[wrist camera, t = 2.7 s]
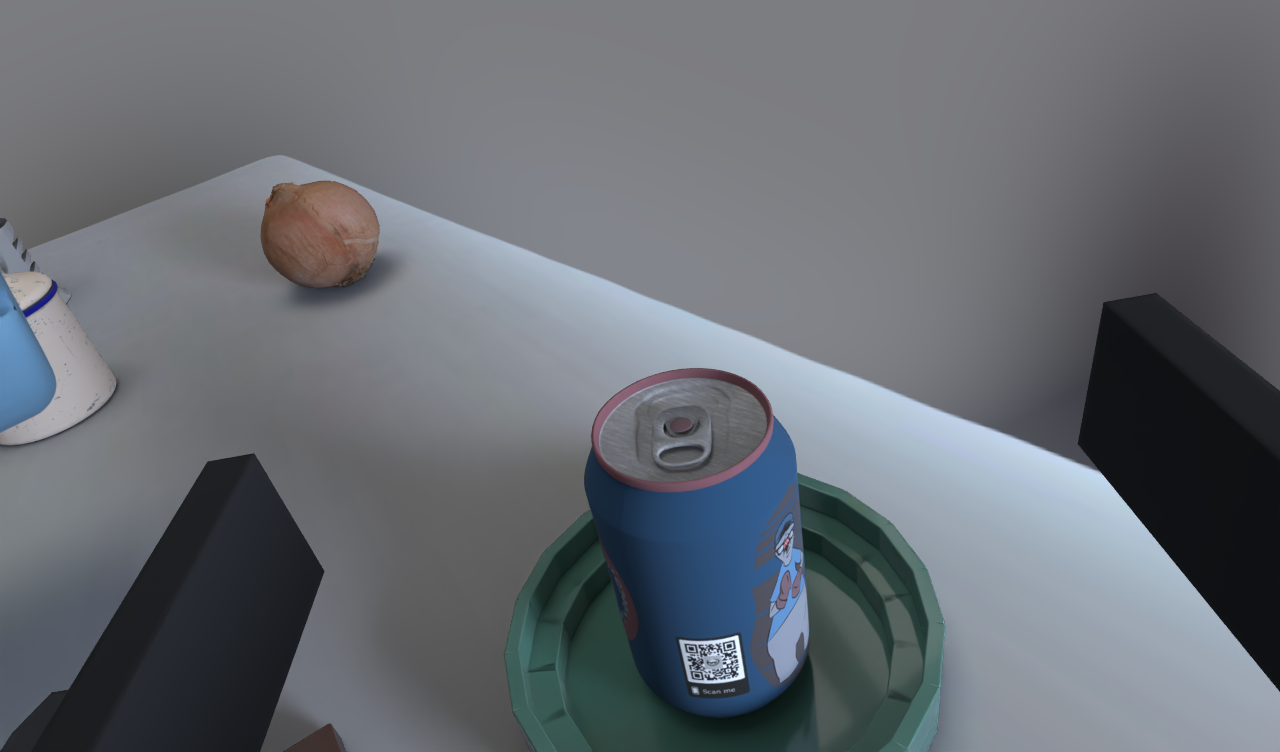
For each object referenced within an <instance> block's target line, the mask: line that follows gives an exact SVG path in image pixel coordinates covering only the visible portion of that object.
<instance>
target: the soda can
mask: <svg viewBox="0 0 1280 752" xmlns="http://www.w3.org/2000/svg"><path fill="white" fill-rule="evenodd" d="M591 440H592V448H591V451H590V454H589V457H588V461H587V464H586V469H585V476H584V485H585V491H586V495H587V499H588V502H589V506H590V509H591V512H592V516H593V519H594V523H595V526H596V530H597V533H598V537H599V540H600V544H601V547H602V551H603V554H604V558H605V561H606V565H607V568H608V572H609V575H610V579H611V582H612V586H613V589H614V593H615V596H616V600H617V603H618V607H619V610H620V614H621V617H622V621H623V624H624V628H625V631H626V635H627V638H628V642H629V645H630V649H631V652H632V656H633V659H634V662H635V665H636V668H637V670H638V672H639V674H640V675H641V677H642V679H643V680H644V682H645V683H646V684H647V685H648V687H649V688H650V689H651V690H652V691H653V692H654V693H655V694H656V695H658V696H659V697H660V698H661V699H663V700H664V701H665V702H667V703H669V704H670V705H672V706H674V707H676V708H678V709H680V710H683V711H685V712H688V713H691V714H695V715H699V716H704V717H711V718H733V717H738V716H743V715H746V714H749V713H751V712H754V711H756V710H758V709H760V708H762V707H764V706H765V705H767V704H769V703H770V702H772V701H773V700H775V699H776V698H777V697H779V696H780V695H781V694H782V693H783V692H784V691H785V690H786V689H787V688H788V687H789V686H790V685H791V684H792V683H793V681H794V680H795V679H796V677H797V676H798V674H799V673H800V671H801V669H802V667H803V665H804V663H805V660H806V658H807V654H808V650H809V645H810V625H809V613H808V600H807V588H806V576H805V563H804V551H803V539H802V526H801V514H800V502H799V489H798V477H797V465H796V454H795V449H794V446H793V443H792V440H791V438H790V436H789V435H788V433H787V431H786V430H785V429H784V427H783V426H782V425H781V423H780V422H779V421H778V420H777V419H776V417H775V416H774V415H773V412H772V408H771V405H770V403H769V400H768V399H767V397H766V396H765V394H764V393H763V392H762V391H761V390H760V389H759V388H758V387H757V386H756V385H754V384H753V383H752V382H750V381H748V380H747V379H745V378H743V377H740V376H738V375H735V374H732V373H729V372H725V371H721V370H715V369H705V368H689V369H678V370H672V371H667V372H662V373H659V374H655V375H652V376H649V377H646V378H644V379H642V380H639V381H637V382H635V383H633V384H631V385H629V386H628V387H626V388H624V389H623V390H621V391H620V392H618V393H617V394H616V395H614V396H613V397H612V398H611V399H610V400H609V401H608V402H607V403H606V404H605V405H604V406H603V407H602V408H601V410H600V411H599V412H598V414H597V416H596V418H595V421H594V424H593V427H592V434H591Z"/></svg>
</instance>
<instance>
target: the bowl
mask: <svg viewBox="0 0 1280 752" xmlns="http://www.w3.org/2000/svg"><path fill="white" fill-rule="evenodd" d="M797 477H798V489H799V502H800V514H801V526H802V539H803V551H804V563H805V576H806V588H807V600H808V613H809V625H810V645H809V650H808V654H807V658H806V660H805V663H804V665H803V667H802V669H801V671H800V673H799V674H798V676H797V677H796V679H795V680H794V681H793V683H792V684H791V685H790V686H789V687H788V688H787V689H786V690H785V691H784V692H783V693H782V694H781V695H780V696H779V697H777V698H776V699H775V700H773V701H772V702H770V703H769V704H767V705H765V706H764V707H762V708H760V709H758V710H756V711H754V712H751V713H749V714H746V715H743V716H738V717H733V718H711V717H704V716H699V715H695V714H691V713H688V712H685V711H683V710H680V709H678V708H676V707H674V706H672V705H670V704H669V703H667V702H665V701H664V700H663V699H661V698H660V697H659V696H658V695H656V694H655V693H654V692H653V691H652V690H651V689H650V688H649V687H648V685H647V684H646V683H645V682H644V680H643V679H642V677H641V675H640V674H639V672H638V670H637V668H636V665H635V662H634V659H633V656H632V652H631V649H630V645H629V642H628V638H627V635H626V631H625V628H624V624H623V621H622V617H621V614H620V610H619V607H618V603H617V600H616V596H615V593H614V589H613V586H612V582H611V579H610V575H609V572H608V568H607V565H606V561H605V558H604V554H603V551H602V547H601V544H600V540H599V537H598V533H597V530H596V526H595V523H594V519H593V516H592V512H591V510H589V511H587V512H585V513H584V514H583V515H581V516H580V517H579V518H578V519H577V520H576V521H575V522H574V523H573V524H572V525H571V526H570V527H569V528H568V529H567V530H566V531H565V532H564V533H563V534H562V535H561V536H560V537H559V538H558V539H557V540H556V541H555V542H554V543H552V544H551V545H550V546H549V547H548V548H547V549H546V550H545V551H544V553H543V554H542V556H541V557H540V559H539V561H538V562H537V564H536V566H535V568H534V569H533V571H532V573H531V574H530V576H529V578H528V580H527V581H526V583H525V585H524V586H523V588H522V590H521V592H520V593H519V595H518V597H517V599H516V602H515V607H514V611H513V616H512V621H511V625H510V630H509V635H508V639H507V644H506V649H505V654H504V657H505V664H506V671H507V677H508V684H509V691H510V698H511V704H512V711H513V714H514V716H515V718H516V721H517V723H518V725H519V727H520V729H521V731H522V733H523V736H524V738H525V740H526V742H527V744H528V747H529V749H530V751H531V752H927V751H928V749H929V747H930V745H931V743H932V741H933V739H934V737H935V735H936V732H937V728H938V715H939V702H940V689H941V676H942V663H943V651H944V638H945V622H944V619H943V616H942V613H941V610H940V606H939V603H938V600H937V597H936V594H935V591H934V588H933V585H932V582H931V579H930V575H929V572H928V570H927V568H926V566H925V565H924V563H923V562H922V561H921V560H920V558H919V557H918V556H917V555H916V553H915V552H914V551H913V549H912V548H911V547H910V546H909V544H908V543H907V542H906V540H905V539H904V538H903V537H902V535H901V534H900V533H899V531H898V530H897V529H896V528H895V526H894V525H893V524H892V523H891V522H890V521H889V520H887V519H886V518H884V517H883V516H881V515H880V514H879V513H877V512H876V511H874V510H873V509H871V508H870V507H869V506H867V505H866V504H864V503H863V502H861V501H860V500H858V499H857V498H856V497H854V496H853V495H851V494H850V493H848V492H847V491H845V490H843V489H840V488H838V487H835V486H832V485H829V484H827V483H824V482H821V481H818V480H816V479H813V478H810V477H807V476H805V475H802V474H799V473H797Z"/></svg>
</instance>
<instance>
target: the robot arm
mask: <svg viewBox="0 0 1280 752" xmlns="http://www.w3.org/2000/svg"><path fill="white" fill-rule="evenodd" d="M55 391H56V377H55V374H54V372H53V369H52V367H51V365H50V363H49V361H48V359H47V357H46V355H45V353H44V351H43V349H42V347H41V345H40V343H39V341H38V340H37V338H36V336H35V334H34V332H33V330H32V328H31V326H30V325H29V323H28V321H27V319H26V317H25V315H24V313H23V312H22V310H21V308H20V306H19V304H18V302H17V301H16V299H15V297H14V295H13V293H12V291H11V290H10V288H9V286H8V284H7V282H6V280H5V279H4V277H3V275H2V273H1V271H0V433H1V432H3V431H5V430H7V429H9V428H11V427H13V426H15V425H18V424H20V423H22V422H24V421H26V420H28V419H30V418H32V417H34V416H36V415H37V414H39V413H41V412H42V411H43V410H44V409H45V408H46V407H47V406H48V405H49V404H50V402H51V401H52V399H53V397H54V395H55ZM1078 445H1079V446H1080V447H1081V448H1082V450H1083V451H1084V452H1085V453H1086V455H1087V456H1088V457H1089V458H1090V459H1091V461H1092V462H1093V463H1094V464H1095V466H1096V467H1097V468H1098V469H1099V471H1100V472H1101V473H1102V474H1103V475H1104V477H1105V478H1106V479H1107V480H1108V482H1109V483H1110V484H1111V485H1112V486H1113V488H1114V489H1115V490H1116V491H1117V493H1118V494H1119V495H1120V496H1121V498H1122V499H1123V500H1124V501H1125V502H1126V504H1127V505H1128V506H1129V507H1130V509H1131V510H1132V511H1133V512H1134V513H1135V515H1136V516H1137V517H1138V518H1139V520H1140V521H1141V522H1142V523H1143V525H1144V526H1145V527H1146V528H1147V529H1148V531H1149V532H1150V533H1151V534H1152V536H1153V537H1154V538H1155V539H1156V540H1157V542H1158V543H1159V544H1160V545H1161V547H1162V548H1163V549H1164V550H1165V552H1166V553H1167V554H1168V555H1169V556H1170V558H1171V559H1172V560H1173V561H1174V563H1175V564H1176V565H1177V566H1178V567H1179V569H1180V570H1181V571H1182V572H1183V574H1184V575H1185V576H1186V577H1187V578H1188V580H1189V581H1190V582H1191V583H1192V585H1193V586H1194V587H1195V588H1196V590H1197V591H1198V592H1199V593H1200V594H1201V596H1202V597H1203V598H1204V599H1205V601H1206V602H1207V603H1208V604H1209V605H1210V607H1211V608H1212V609H1213V610H1214V612H1215V613H1216V614H1217V615H1218V617H1219V618H1220V619H1221V620H1222V621H1223V623H1224V624H1225V625H1226V626H1227V628H1228V629H1229V630H1230V631H1231V632H1232V634H1233V635H1234V636H1235V637H1236V639H1237V640H1238V641H1239V642H1240V643H1241V645H1242V646H1243V647H1244V648H1245V650H1246V651H1247V652H1248V653H1249V655H1250V656H1251V657H1252V658H1253V659H1254V661H1255V662H1256V663H1257V664H1258V666H1259V667H1260V668H1261V669H1262V670H1263V672H1264V673H1265V674H1266V675H1267V677H1268V678H1269V679H1270V680H1271V682H1272V683H1273V684H1274V685H1275V686H1276V688H1277V689H1278V690H1279V691H1280V391H1279V390H1278V389H1276V388H1275V387H1274V386H1273V385H1272V384H1270V383H1269V382H1268V381H1266V380H1265V379H1264V378H1263V377H1261V376H1260V375H1259V374H1258V373H1256V372H1255V371H1254V370H1252V369H1251V368H1250V367H1249V366H1248V365H1246V364H1245V363H1244V362H1242V361H1241V360H1240V359H1239V358H1237V357H1236V356H1235V355H1234V354H1232V353H1231V352H1230V351H1229V350H1227V349H1226V348H1225V347H1224V346H1222V345H1221V344H1220V343H1219V342H1217V341H1216V340H1215V339H1214V338H1212V337H1211V336H1210V335H1209V334H1207V333H1206V332H1205V331H1203V330H1202V329H1201V328H1200V327H1198V326H1197V325H1196V324H1194V323H1193V322H1192V321H1191V320H1190V319H1188V318H1187V317H1186V316H1184V315H1183V314H1182V313H1181V312H1179V311H1178V310H1177V309H1176V308H1175V307H1173V306H1172V305H1171V304H1169V303H1168V302H1167V301H1166V300H1164V299H1163V298H1162V297H1160V296H1159V295H1158V294H1157V293H1153V294H1148V295H1142V296H1137V297H1132V298H1126V299H1120V300H1114V301H1108V302H1104V303H1103V309H1102V314H1101V320H1100V326H1099V331H1098V336H1097V342H1096V347H1095V353H1094V358H1093V364H1092V369H1091V375H1090V381H1089V385H1088V391H1087V397H1086V402H1085V408H1084V413H1083V418H1082V424H1081V429H1080V435H1079V441H1078ZM323 574H324V570H323V568H322V566H321V565H320V563H319V561H318V560H317V558H316V556H315V555H314V553H313V551H312V549H311V548H310V546H309V544H308V543H307V541H306V539H305V538H304V536H303V534H302V533H301V531H300V529H299V528H298V526H297V524H296V523H295V521H294V519H293V518H292V516H291V514H290V513H289V511H288V509H287V507H286V506H285V504H284V502H283V501H282V499H281V497H280V496H279V494H278V492H277V491H276V489H275V487H274V486H273V484H272V482H271V481H270V479H269V477H268V476H267V474H266V472H265V471H264V469H263V467H262V465H261V464H260V462H259V460H258V459H257V457H256V455H255V454H254V453H253V454H248V455H242V456H237V457H231V458H225V459H220V460H214V461H208V462H207V463H206V465H205V467H204V468H203V470H202V472H201V473H200V475H199V477H198V478H197V480H196V481H195V483H194V485H193V486H192V488H191V490H190V491H189V493H188V495H187V496H186V498H185V500H184V501H183V503H182V504H181V506H180V508H179V509H178V511H177V513H176V514H175V516H174V518H173V519H172V521H171V523H170V524H169V526H168V527H167V529H166V531H165V532H164V534H163V536H162V537H161V539H160V541H159V542H158V544H157V546H156V547H155V549H154V550H153V552H152V554H151V555H150V557H149V559H148V560H147V562H146V564H145V565H144V567H143V569H142V570H141V572H140V573H139V575H138V577H137V578H136V580H135V582H134V583H133V585H132V587H131V588H130V590H129V592H128V593H127V595H126V596H125V598H124V600H123V601H122V603H121V605H120V606H119V608H118V610H117V611H116V613H115V615H114V616H113V618H112V619H111V621H110V623H109V624H108V626H107V628H106V629H105V631H104V633H103V634H102V636H101V638H100V639H99V641H98V642H97V644H96V646H95V647H94V649H93V651H92V652H91V654H90V656H89V657H88V659H87V661H86V662H85V664H84V665H83V667H82V669H81V670H80V672H79V674H78V675H77V677H76V679H75V680H74V682H73V684H72V685H71V687H70V688H69V690H64V691H58V692H52V693H51V694H50V695H49V696H48V697H47V698H46V699H45V700H44V701H43V702H42V703H41V704H40V705H39V706H38V707H37V708H36V709H35V710H34V711H33V712H32V713H31V714H30V715H29V716H28V717H27V718H26V719H25V720H24V721H23V723H22V724H21V725H20V726H19V727H18V728H17V729H16V730H15V731H14V732H13V733H12V734H11V736H10V737H9V739H8V740H7V742H6V744H5V745H4V747H3V748H2V750H1V751H0V752H260V750H261V747H262V745H263V742H264V739H265V736H266V733H267V731H268V728H269V725H270V722H271V719H272V717H273V714H274V711H275V708H276V705H277V703H278V700H279V697H280V694H281V691H282V689H283V686H284V683H285V680H286V677H287V675H288V672H289V669H290V666H291V663H292V661H293V658H294V655H295V652H296V649H297V647H298V644H299V641H300V638H301V635H302V633H303V630H304V627H305V624H306V621H307V619H308V616H309V613H310V610H311V607H312V605H313V602H314V599H315V596H316V593H317V591H318V588H319V585H320V582H321V580H322V577H323Z"/></svg>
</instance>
